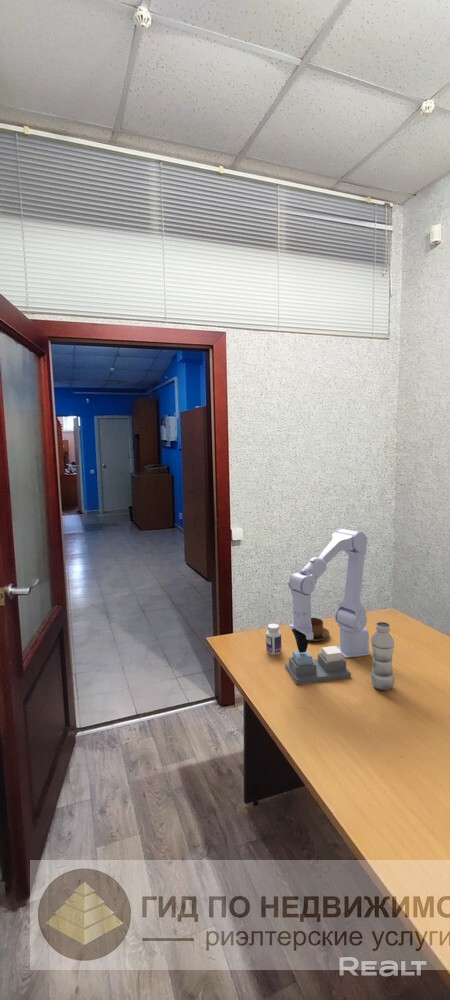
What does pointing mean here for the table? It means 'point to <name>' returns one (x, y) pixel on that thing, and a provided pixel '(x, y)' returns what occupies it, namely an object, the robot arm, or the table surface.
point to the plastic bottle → (382, 657)
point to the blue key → (302, 658)
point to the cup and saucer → (318, 630)
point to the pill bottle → (273, 639)
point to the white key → (331, 654)
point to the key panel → (317, 670)
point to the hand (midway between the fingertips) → (302, 651)
